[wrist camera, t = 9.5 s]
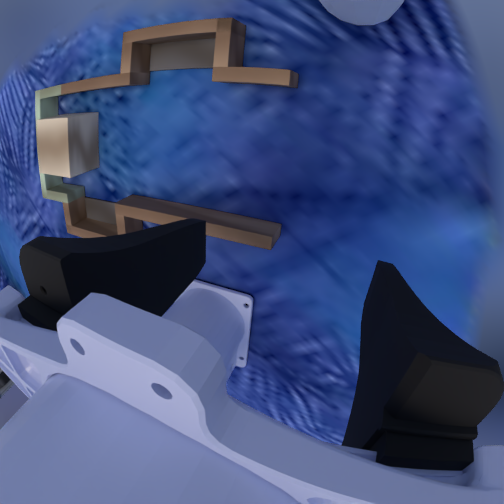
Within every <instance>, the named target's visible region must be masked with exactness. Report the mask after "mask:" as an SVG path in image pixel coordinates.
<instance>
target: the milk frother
mask: <svg viewBox="0 0 504 504" xmlns="http://www.w3.org/2000/svg"><path fill="white" fill-rule="evenodd" d="M14 384H15V383H14V382H13V381H12V380H11V379H10V378H9V377H8V376H7V375H6V374H5V373H4V371H3V370H2V369H1V368H0V398H1V397H2V396H3V395H4V394H5V392H7V391H8V390H9V389H10V388H11V387H12V386H13V385H14Z"/></svg>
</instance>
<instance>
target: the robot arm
mask: <svg viewBox="0 0 504 504" xmlns="http://www.w3.org/2000/svg"><path fill="white" fill-rule="evenodd" d="M19 258H20V265H21V269H22V273H23V276H24V279H25V282H26V285H27V288H28V291H29V294H30V296H29V297H27V298H26V299H25V298H24V297H23V296H22V294H21V293H19V292H18V291H16V290H15V289H14V288H12V287H11V286H7V287H5V288H4V289H3V290H1V291H0V368H1V369H2V370H3V371H4V373H5V374H6V375H7V376H8V377H9V378H10V379H11V380H12V381H13V382H14V383H15V384H16V385H17V386H18V387H19V388H20V390H22V392H23V393H24V394H25V395H26V396H27V397H28V398H29V400H28V401H27V402H26V403H25V404H24V405H23V406H22V407H21V408H20V409H19V410H18V411H17V412H16V413H15V414H14V416H13V417H12V418H11V419H10V420H9V421H8V422H7V423H6V424H5V425H4V426H3V427H2V428H1V430H0V504H504V445H492V446H491V445H490V446H486V445H485V446H480V447H477V448H475V449H473V440H474V439H475V438H477V435H478V432H477V425H478V424H479V423H480V422H481V421H482V420H483V419H484V418H485V417H486V416H487V414H488V413H489V412H490V411H491V410H492V409H493V408H494V407H495V405H496V404H497V403H498V401H499V400H500V398H501V396H502V393H503V391H504V382H503V378H502V374H501V371H500V367H499V364H498V361H497V360H495V359H493V358H491V357H490V356H488V355H486V354H484V353H482V352H481V351H479V350H477V349H475V348H474V347H472V346H471V345H469V344H468V343H466V342H465V341H464V340H462V339H461V338H459V337H458V336H457V335H455V334H454V333H453V332H452V331H451V330H449V329H448V328H447V327H446V326H445V325H444V324H442V323H441V322H440V321H439V320H438V319H437V318H436V317H435V316H434V315H433V314H432V313H431V312H430V311H429V310H428V309H427V308H426V306H425V305H424V304H423V303H422V302H421V301H420V299H419V298H418V297H417V296H416V294H415V293H414V292H413V291H412V289H411V288H410V287H409V285H408V284H407V283H406V281H405V280H404V278H403V277H402V276H401V274H400V273H399V271H398V270H397V269H396V267H395V266H394V265H393V264H391V263H387V262H383V261H379V260H378V262H377V265H376V268H375V271H374V275H373V278H372V281H371V284H370V287H369V290H368V293H367V296H366V299H365V302H364V307H363V314H362V320H361V341H360V364H359V375H358V381H357V386H356V391H355V396H354V401H353V405H352V410H351V414H350V418H349V422H348V425H347V429H346V433H345V436H344V440H343V443H342V446H341V445H336V444H332V443H327V442H323V441H320V440H318V439H316V438H313V437H311V436H309V435H307V434H304V433H302V432H300V431H298V430H296V429H294V428H291V427H289V426H287V425H285V424H283V423H281V422H279V421H277V420H275V419H273V418H271V417H269V416H267V415H265V414H263V413H261V412H259V411H257V410H255V409H254V408H252V407H250V406H248V405H246V404H244V403H242V402H241V401H239V400H237V399H235V398H233V397H232V396H230V395H228V394H227V390H226V382H227V380H228V379H229V377H230V375H231V373H232V371H233V369H234V368H235V366H239V367H242V368H243V367H245V366H246V364H247V356H248V347H249V337H250V328H251V318H252V309H253V298H252V296H250V295H248V294H244V293H241V292H237V291H234V290H230V289H227V288H223V287H220V286H216V285H213V284H209V283H206V282H202V281H199V280H196V279H195V278H196V277H197V275H198V274H199V272H200V271H201V269H202V267H203V266H204V264H205V263H206V221H204V220H200V219H195V218H190V219H184V220H179V221H175V222H171V223H167V224H163V225H160V226H156V227H152V228H148V229H144V230H140V231H135V232H131V233H126V234H120V235H113V236H105V237H93V238H56V237H44V236H40V237H37V238H35V239H33V240H32V241H30V242H28V243H27V244H25V245H23V246H22V248H21V249H20V256H19ZM173 303H174V304H173ZM245 303H246V304H248V305H249V306H247V305H246V304H245ZM172 304H173V305H172ZM171 305H172V306H171ZM170 306H171V307H170ZM169 307H170V308H169ZM168 308H169V310H168ZM167 310H168V311H167ZM166 311H167V312H166ZM165 312H166V313H165ZM164 313H165V314H164ZM163 314H164V315H163Z"/></svg>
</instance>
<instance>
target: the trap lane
mask: <svg viewBox="0 0 504 504" xmlns="http://www.w3.org/2000/svg"><path fill="white" fill-rule="evenodd" d="M245 31H246V25H244V24H242V23H240V22H239V21H237V20H235V19H234V18H217V19H204V20H194V21H186V22H178V23H171V24H164V25H158V26H153V27H147V28H142V29H137V30H132V31H128V32H124V34H123V44H122V57H121V74H114V75H108V76H102V77H96V78H90V79H85V80H80V81H75V82H71V83H66V84H62V85H57V86H53V87H49V88H45V89H42V90H38V91H35V110H36V136H37V120H39V119H43V118H48V117H53V116H58V96H62V95H67V94H73V93H79V92H85V91H92V90H99V89H106V88H115V87H124V86H135V85H148V84H149V80H150V71H158V70H172V69H192V68H213V75H212V81H214V82H223V83H240V84H257V85H271V86H282V87H291V88H297V87H298V77H299V74H297V73H295V72H293V71H291V70H284V69H271V68H253V67H242V65H243V53H244V42H245ZM37 150H38V143H37ZM38 161H39V157H38ZM39 171H40V169H39ZM40 179H41V187H42V194H43V198H47V199H51V200H56V201H60V202H63V208H64V214H65V220H66V226H67V232H68V233H70V234H73V235H76V236H79V237H82V238H93V237H105V236H113V235H120V234H126V233H131V232H135V231H140V230H143V225H142V220H144V221H148V222H152V223H157V224H161V225H163V224H167V223H171V222H175V221H179V220H184V219H190V218H195V219H200V220H204V221H206V235H208V236H213V237H217V238H221V239H226V240H230V241H234V242H238V243H243V244H247V245H251V246H255V247H260V248H264V249H268V250H271V249H272V248H273V246H274V244H275V243H276V241H277V240H278V238H279V237H280V233H281V225H282V224H279V223H275V222H270V221H266V220H261V219H256V218H251V217H247V216H242V215H237V214H232V213H227V212H222V211H217V210H212V209H207V208H202V207H197V206H192V205H186V204H181V203H176V202H170V201H165V200H160V199H154V198H149V197H143V196H138V195H131V196H128V197H126V198H124V199H122V200H120V201H118V202H116V203H115V202H110V201H105V200H99V199H94V198H89V197H85V190H84V186H78V185H72V184H65V183H63V180H62V176H56V175H50V174H43V173H40Z"/></svg>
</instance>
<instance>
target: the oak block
mask: <svg viewBox="0 0 504 504" xmlns="http://www.w3.org/2000/svg"><path fill="white" fill-rule="evenodd" d="M37 143H38V157H39V169H40V173H43V174H50V175H56V176H62V177H68V178H72V177H74V176H77V175H79V174H82V173H85V172H87V171H90V170H93V169H96V168H99V146H98V112H90V113H72V114H63V115H58V116H53V117H48V118H43V119H39V120H37Z"/></svg>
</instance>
